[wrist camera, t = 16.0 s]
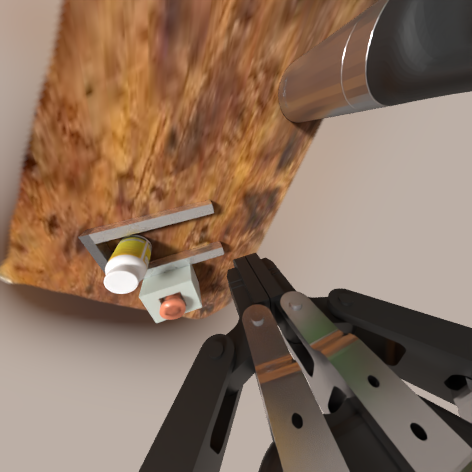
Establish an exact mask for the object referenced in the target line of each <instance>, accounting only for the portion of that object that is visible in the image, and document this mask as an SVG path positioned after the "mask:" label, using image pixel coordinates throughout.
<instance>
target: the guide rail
mask: <svg viewBox="0 0 472 472" xmlns="http://www.w3.org/2000/svg"><path fill="white" fill-rule="evenodd" d="M213 213H214V210H213V206H212V203H211V201H210V200H205V201H201V202H197V203H193V204H189V205H185V206H181V207H177V208H173V209H169V210H165V211H161V212H157V213H153V214H149V215H145V216H140V217H136V218H132V219H128V220H124V221H120V222H116V223H112V224H108V225H104V226H100V227H96V228H92V229H88V230H86V231H85V232H83V233H82V234H81V235H80V236H79V239H80V240H81V241H82V243H83V244H84V246H85V247H86V248H87V250H88V251H89V252H90V254H91V255H92V256H93V258H94V259H95V260H96V262H97V263H98V265H99V266H100V267H101V269H102V270H103V271H104V273H105V267H106V264H107V263H108V261H109V259H110V257H111V256H112V254H113V253H112V252H111V250H110V249H109V247H108V246H107V244H106V243H105V241H109V240H113V239H117V238H121V237H124V236H128V235H132V234H136V233H140V232H144V231H147V230H151V229H155V228H159V227H163V226H167V225H170V224H174V223H178V222H182V221H186V220H190V219H193V218H197V217H201V216H205V215H209V214H213ZM220 255H224V252H223V247H222V245H221V243H220V241H218V242H214V243H211V244H207V245H204V246H201V247H197V248H194V249H190V250H187V251H183V252H180V253H177V254H173V255H170V256H166V257H163V258H159V259H156V260H152V261H149V264H148V268H147V272H146V275H145V277H144V278H143V279H145V278H148V277H152V276H155V275H158V274H161V273H165V272H168V271H171V270H175V269H178V268H181V267H184V266H188V265H191V264H194V263H197V262H201V261H204V260H207V259H210V258H214V257H217V256H220ZM105 274H106V273H105Z"/></svg>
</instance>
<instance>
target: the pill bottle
mask: <svg viewBox="0 0 472 472" xmlns="http://www.w3.org/2000/svg"><path fill="white" fill-rule="evenodd" d="M151 252H152V246H151V243H150V242H149V241H148V240H147V239H146V238H144V237H142V236H139V235H130V236H127V237H125V238H123V239H122V240H121V241H120V242H119V244H118V245H117V247H116V249H115V251H114V252H113V254H112V256H111V257H110V259H109V261H108V263H107V264H106V267H105V273H106V277H105V279H104V285H105V287H106V288H107V289H108V290H109V291H111V292H114V293H118V294H125V293H129V292H132V291H133V290H135V289H136V288H137V286H138V284H139V282H140V281H141V280H142V279H143V278H144V277H145V275H146V272H147V268H148V264H149V260H150V256H151Z"/></svg>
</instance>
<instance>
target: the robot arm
mask: <svg viewBox="0 0 472 472" xmlns="http://www.w3.org/2000/svg"><path fill="white" fill-rule="evenodd" d="M470 91H472V0H379V1H377V2H376V3H374V4H373V5H372V6H371V7H369V8H368V9H366V10H365V11H364V12H362V13H361V14H359V15H358V16H357V17H355V18H354V19H353V20H351V21H350V22H348V23H347V24H346V25H344V26H343V27H341V28H340V29H339V30H337V31H336V32H335V33H333V34H332V35H330V36H329V37H328V38H326V39H325V40H324V41H322V42H321V43H319V44H318V45H317V46H315V47H314V48H312V49H311V50H310V51H308V52H307V53H305V54H304V55H303V56H301V57H300V58H299V59H297V60H296V61H294V62H293V63H292V64H291V65H290V66H289V67H288V68H287V69H286V71H285V73H284V74H283V76H282V79H281V82H280V87H279V104H280V107H281V110H282V112H283V114H284V115H285V117H286V118H287V119H289V120H290V121H292V122H296V123H300V122H305V121H311V120H317V119H323V118H328V117H334V116H339V115H344V114H350V113H355V112H361V111H366V110H371V109H376V108H382V107H387V106H393V105H398V104H403V103H407V102H412V101H417V100H423V99H428V98H433V97H439V96H445V95H450V94H456V93H463V92H470ZM233 262H234V267H235V268H232V269H229V270H228V273H227V279H228V283H229V287H230V291H231V295H232V298H233V300H234V303H235V306H236V309H237V312H238V315H239V321H238V323H237V325H236V326H235V328H234V329H232V330H231V331H230V332H229V333H228V334H226V335H223V334H216V335H213V336H211V337H209V338H208V339H207V340H206V341H205V342H204V344H203V345H202V347H201V349H200V351H199V354H198V355H197V357H196V359H195V361H194V363H193V365H192V367H191V369H190V371H189V373H188V375H187V377H186V379H185V381H184V383H183V385H182V387H181V389H180V391H179V393H178V395H177V397H176V399H175V401H174V403H173V405H172V407H171V409H170V411H169V413H168V415H167V417H166V419H165V420H164V423H163V424H162V426H161V428H160V430H159V432H158V434H157V437H156V438H155V440H154V443H153V444H152V446H151V448H150V450H149V453H148V454H147V456H146V458H145V460H144V462H143V464H142V466H141V468H140V470H139V472H219V471H220V467H221V463H222V460H223V456H224V453H225V449H226V445H227V442H228V438H229V435H230V431H231V427H232V424H233V419H234V416H235V413H236V409H237V406H238V402H239V398H240V395H241V391H242V388H243V384H244V383H245V382H246V381H247V380H248V379H249V378H250V377H251V376H252V375H253V374H254V373H255V375H256V378H257V382H258V386H259V390H260V394H261V397H262V401H263V405H264V409H265V413H266V417H267V420H268V424H269V429H270V432H271V436H272V440H273V442H272V443H271V445H270V447H269V448H268V450H267V451H266V453H265V456H264V458H263V460H262V463H261V465H260V468H259V472H472V328H470V327H466V326H463V325H460V324H457V323H453V322H450V321H447V320H444V319H440V318H437V317H434V316H431V315H428V314H424V313H421V312H418V311H414V310H411V309H408V308H405V307H402V306H398V305H395V304H392V303H388V302H386V301H382V300H379V299H375V298H373V297H369V296H366V295H363V294H360V293H357V292H353V291H350V290H346V289H334V290H332V291H331V292H330V293H329V296H328V297H318V298H310V297H307V296H306V295H304V294H302V293H300V292H297V291H296V290H295V289H294V288H293V287H292V285H291V284H290V283H289V282H288V280H287V279H286V278H285V277H284V276H283V274H282V273H281V272H280V270H279V269H278V268H277V267H276V265H275V264H274V263H273V262H272V261H271V260H269V259H267V258H263V259H260V258H259V256H258V255H257V254H256V253H253V254H249V255H246V256H245V257H244V256H243V257H240V258H237V259H234V260H233ZM277 325H278V326H279V327H280V330H281V331H282V335H281V332H280V330H279V328H278V326H277ZM286 345H287V346H286ZM287 347H288V348H287ZM288 349H289V350H290V352H291V353H292V355H293V357H294V358H295V360H294V359H293V358H292V356H291V354H290V352H289V350H288ZM303 373H304V374H305V376H306V378H307V380H308V382H309V384H310V386H311V388H310V386H309V384H308V382H307V380H306V378H305V376H304V374H303ZM400 378H401V379H403V380H405V381H407V382H409V383H411V384H413V385H415V386H417V387H419V388H421V389H423V390H425V391H427V392H429V393H431V394H434V395H436V396H438V397H440V398H442V399H444V400H446V401H448V402H450V403H452V404H454V405H456V406H457V407H458V413H459V415H460V417H459V416H457V415H455V414H453V413H451V412H449V411H447V410H446V409H444V408H442V407H440V406H438V405H436V404H434V403H432V402H430V401H429V400H427V399H425V398H423V397H421V396H419V395H417V394H415V393H414V392H413V391H412V390H411V389H410V388H409V387H408V386H407V385H406V384H405V383H404V382H403V381H402V380H401V379H400ZM312 392H313V393H312ZM313 394H314V395H313ZM314 396H315V397H314ZM315 398H316V399H315ZM316 400H317V401H316ZM317 402H318V403H317ZM318 404H319V405H320V407H321V409H322V410H323V412H324V414H322V412H321V410H320V407H319V405H318Z"/></svg>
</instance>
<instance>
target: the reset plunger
mask: <svg viewBox="0 0 472 472" xmlns="http://www.w3.org/2000/svg"><path fill="white" fill-rule="evenodd" d="M185 310H186V306H185V302H184V301H183V300H181V293H180V292H178V293H175V294H172V295H169V296H166V297H165V301H164V302H163V303H162V304H161V306H160V316H161V317H162V318H164V319H168V320H172V319H177V318H179V317H181V316H182V315H183V314H184V313H185Z"/></svg>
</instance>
